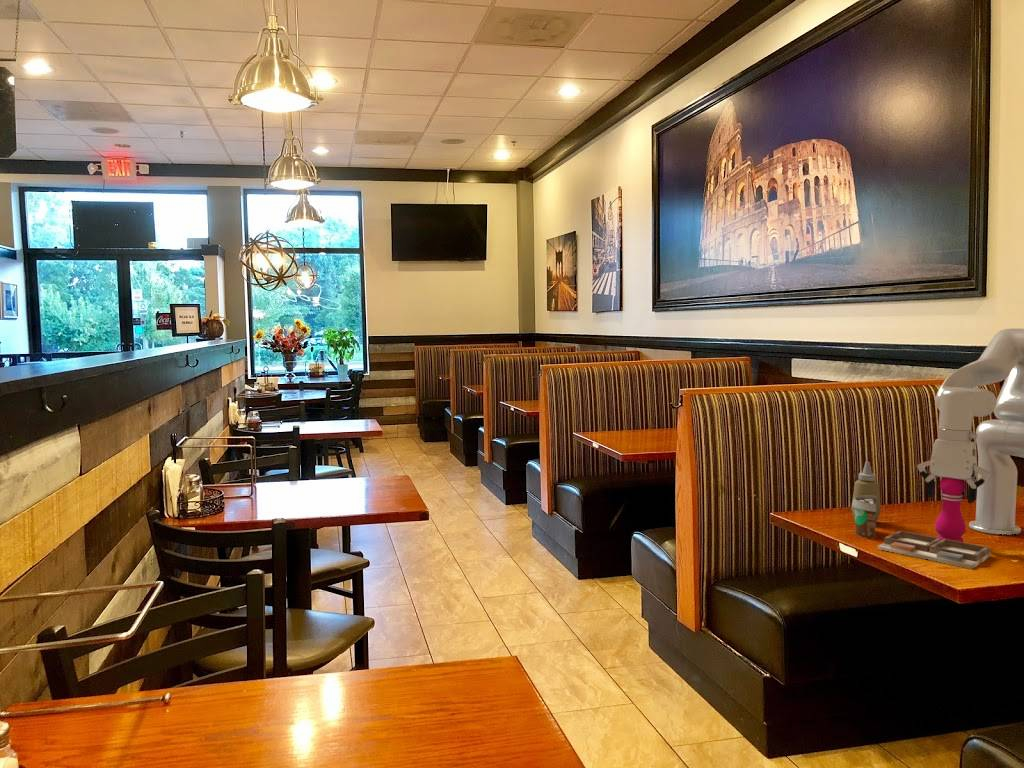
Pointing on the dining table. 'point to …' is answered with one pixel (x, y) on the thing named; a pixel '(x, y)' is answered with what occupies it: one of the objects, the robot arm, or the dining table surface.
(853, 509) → the squeeze bottle
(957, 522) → the pepper mill
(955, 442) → the robot arm
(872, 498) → the food container
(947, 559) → the holder board
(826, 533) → the dining table surface
